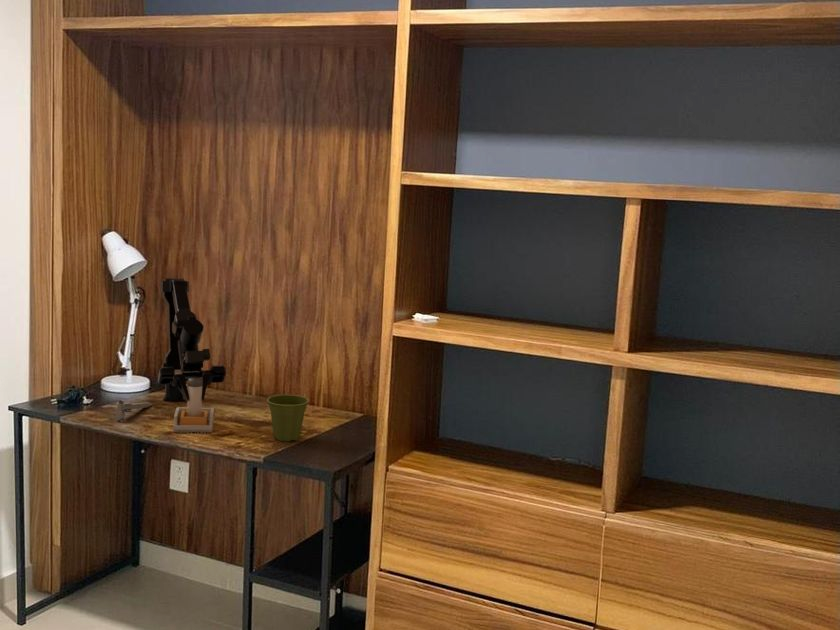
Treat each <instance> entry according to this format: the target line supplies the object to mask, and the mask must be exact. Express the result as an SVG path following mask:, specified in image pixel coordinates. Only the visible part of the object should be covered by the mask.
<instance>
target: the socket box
mask: <svg viewBox="0 0 840 630" xmlns="http://www.w3.org/2000/svg"><path fill="white" fill-rule="evenodd" d="M214 409H215V408H214V407H202V412H201V417H187V406H185V407H183V406H181V407H178V406H176V409H175V412H174V415H173V429H172V430H173V432H172V433H174V434H177V433H178V432H180V434H182V432H183V433H184V434H185V432H186V433H187V434H189V432H191V434H192V432H195V433H194V434H198V433H199V432H200V433H199V434H212V433H213V428H214V427H213V426H214V417H215V414H214V413H215V412H214V411H215V410H214ZM175 432H177V433H175ZM196 432H197V433H196ZM203 432H204V433H203ZM206 432H207V433H206ZM209 432H210V433H209ZM178 434H179V433H178Z"/></svg>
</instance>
